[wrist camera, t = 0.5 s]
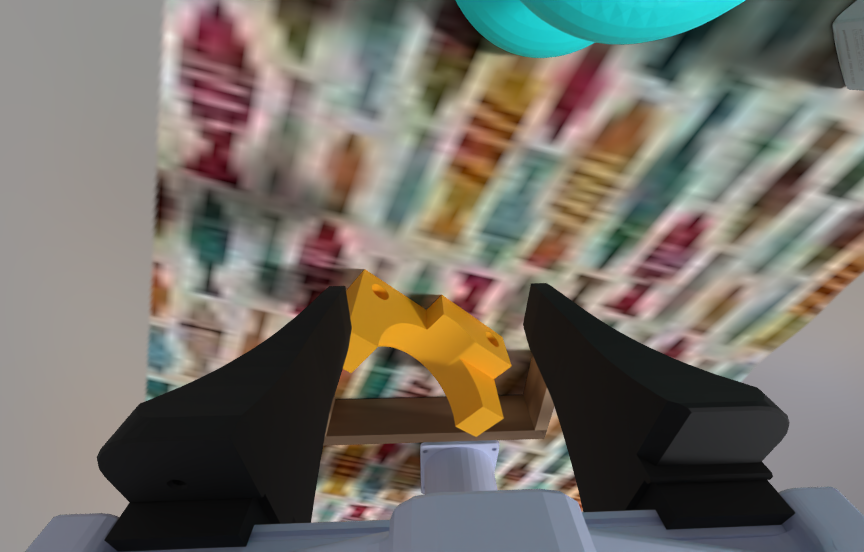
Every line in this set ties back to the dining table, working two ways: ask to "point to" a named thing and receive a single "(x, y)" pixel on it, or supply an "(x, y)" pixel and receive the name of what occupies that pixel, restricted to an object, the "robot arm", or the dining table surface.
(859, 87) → the skincare box
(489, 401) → the pipe clamp
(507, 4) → the donuts
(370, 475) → the dining table surface
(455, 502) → the robot arm
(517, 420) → the bracket
